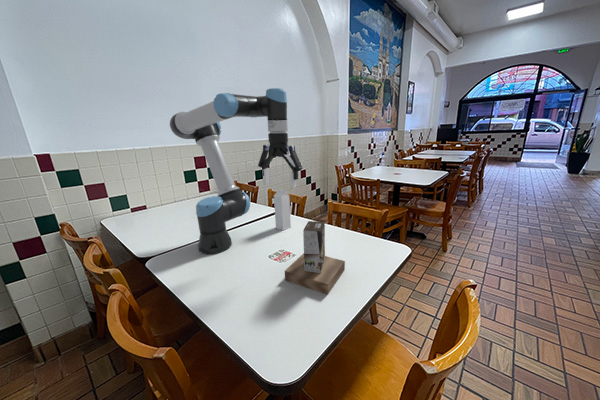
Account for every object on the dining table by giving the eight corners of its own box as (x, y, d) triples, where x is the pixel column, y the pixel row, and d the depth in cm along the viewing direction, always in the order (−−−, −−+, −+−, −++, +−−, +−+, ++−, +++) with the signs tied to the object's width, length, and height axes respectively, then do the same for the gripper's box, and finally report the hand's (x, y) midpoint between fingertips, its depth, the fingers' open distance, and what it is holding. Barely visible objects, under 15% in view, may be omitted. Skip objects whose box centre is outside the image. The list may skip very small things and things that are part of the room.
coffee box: (321, 273, 85) (321, 231, 80) (303, 271, 87) (302, 230, 82) (325, 260, 94) (325, 221, 89) (309, 258, 95) (308, 220, 90)
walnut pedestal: (285, 280, 89) (284, 270, 88) (306, 259, 102) (305, 251, 101) (327, 294, 80) (327, 284, 79) (344, 270, 94) (344, 261, 92)
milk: (283, 230, 131) (280, 191, 124) (275, 228, 135) (272, 189, 128) (291, 227, 135) (289, 189, 129) (283, 224, 139) (281, 187, 133)
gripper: (247, 132, 97) (251, 184, 103) (300, 133, 85) (301, 191, 91) (259, 131, 103) (262, 180, 110) (310, 132, 91) (311, 187, 97)
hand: (280, 185), depth 100 cm, fingers open, 13 cm apart
